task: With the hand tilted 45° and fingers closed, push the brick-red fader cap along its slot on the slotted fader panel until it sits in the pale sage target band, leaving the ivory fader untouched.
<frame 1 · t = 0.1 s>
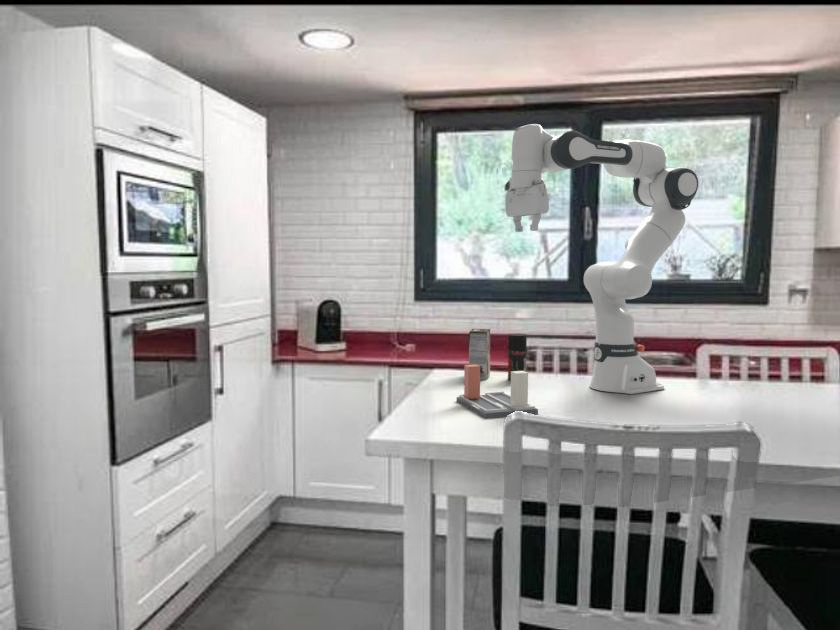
hand: (526, 231, 184), 48 cm above the table, tool pointing down, fingers open, 8 cm apart
slotted fader panel: (495, 407, 174), on the table
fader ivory: (519, 388, 169), point 6 cm above the table, slide at 0.0 cm
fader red: (472, 381, 179), point 6 cm above the table, slide at 0.0 cm
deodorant: (516, 380, 213), on the table
coffee box: (479, 377, 217), on the table
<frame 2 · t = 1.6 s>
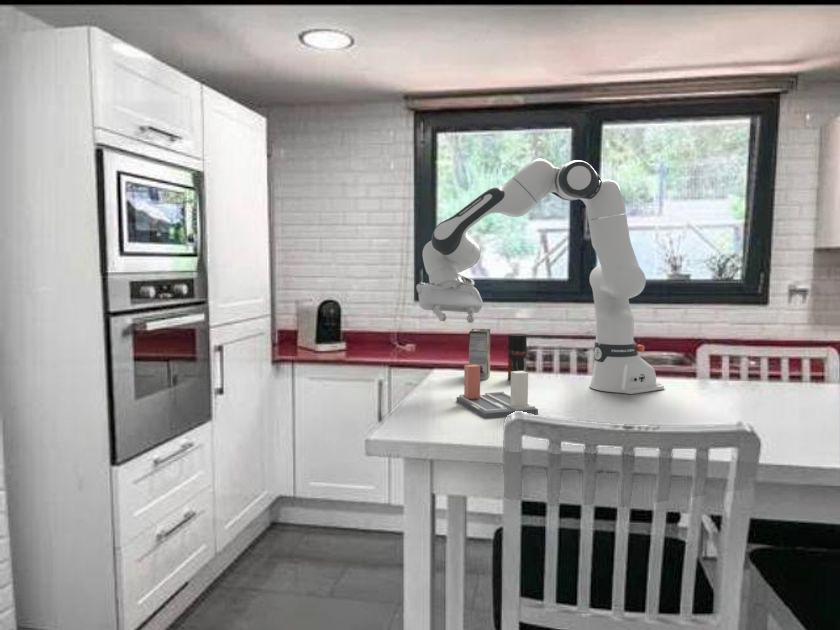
hand: (457, 320, 188), 22 cm above the table, tool tilted 45°, fingers open, 8 cm apart
nothing on the table moved.
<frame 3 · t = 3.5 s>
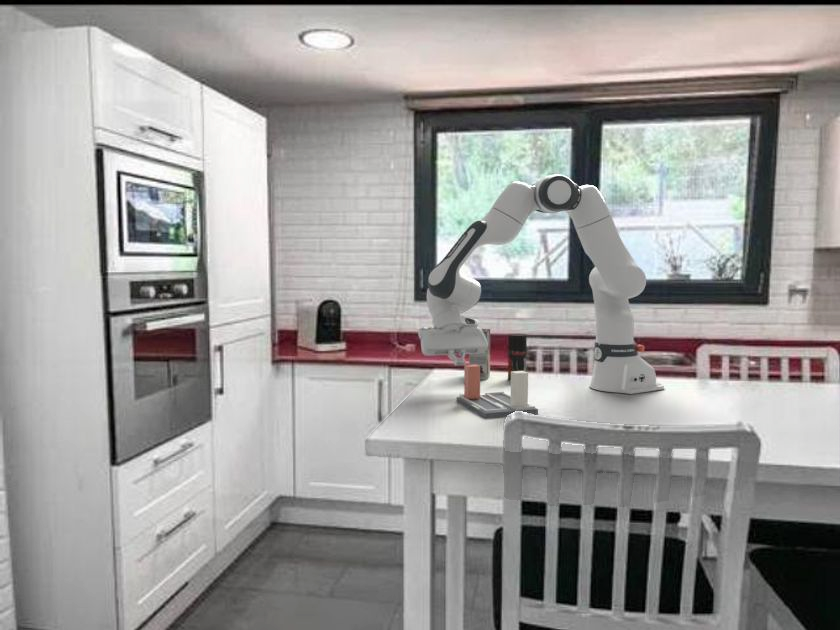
hand: (460, 364, 187), 9 cm above the table, tool tilted 45°, fingers closed
nothing on the table moved.
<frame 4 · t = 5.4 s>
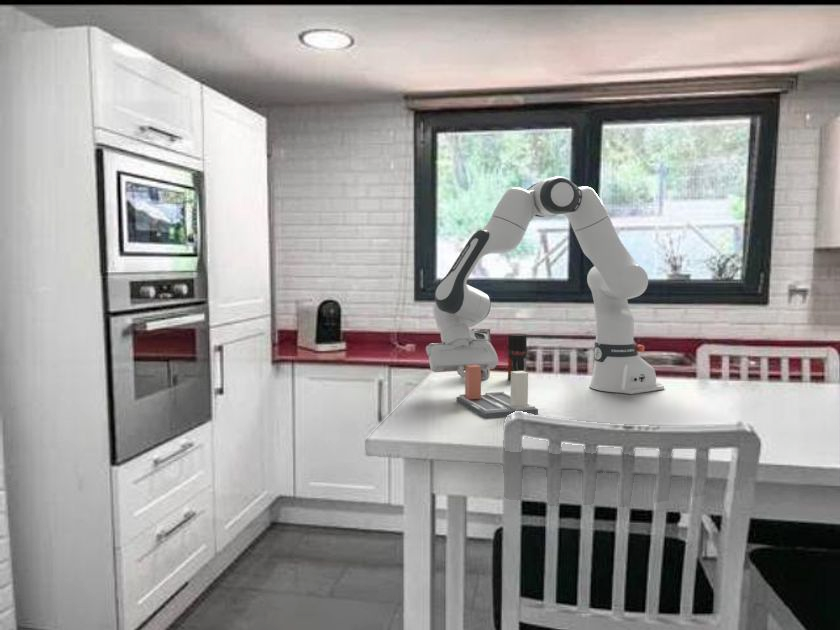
hand: (470, 381, 180), 6 cm above the table, tool tilted 45°, fingers closed, pressing on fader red
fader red: (473, 382, 178), point 6 cm above the table, slide at 0.7 cm, touching gripper
everything else where it was.
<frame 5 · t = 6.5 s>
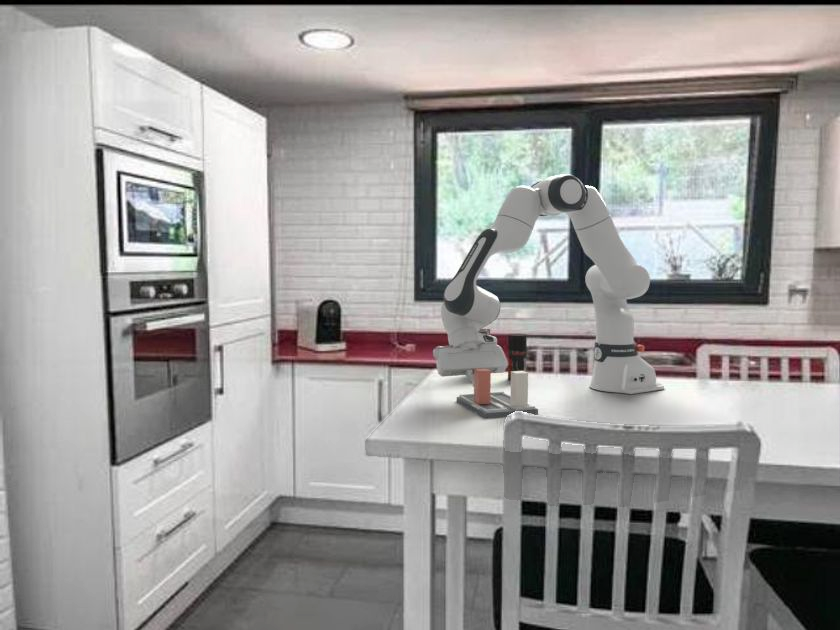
hand: (479, 385, 174), 6 cm above the table, tool tilted 45°, fingers closed, pressing on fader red
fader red: (482, 386, 172), point 6 cm above the table, slide at 7.0 cm, touching gripper
everything else where it was.
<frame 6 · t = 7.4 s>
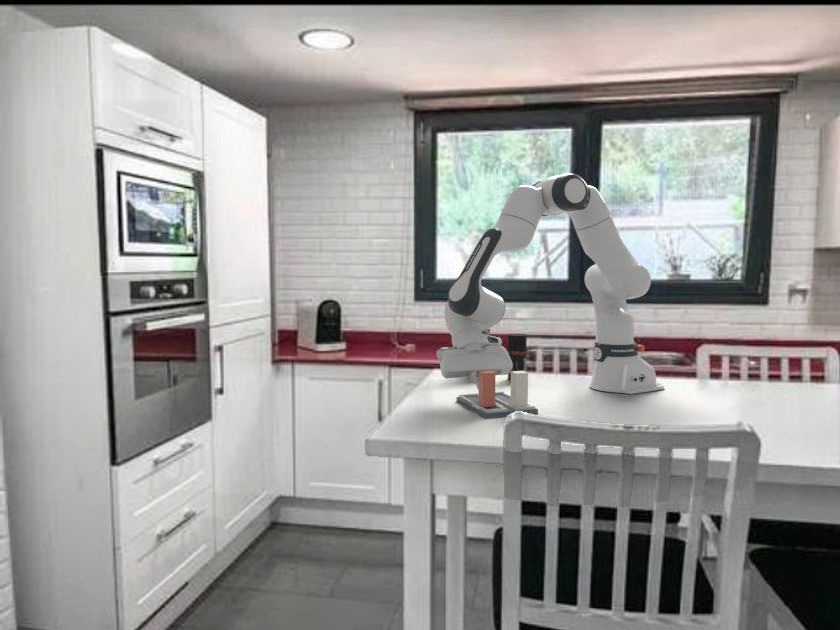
hand: (483, 387, 172), 6 cm above the table, tool tilted 45°, fingers closed, pressing on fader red
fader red: (486, 388, 170), point 6 cm above the table, slide at 10.1 cm, touching gripper
everything else where it was.
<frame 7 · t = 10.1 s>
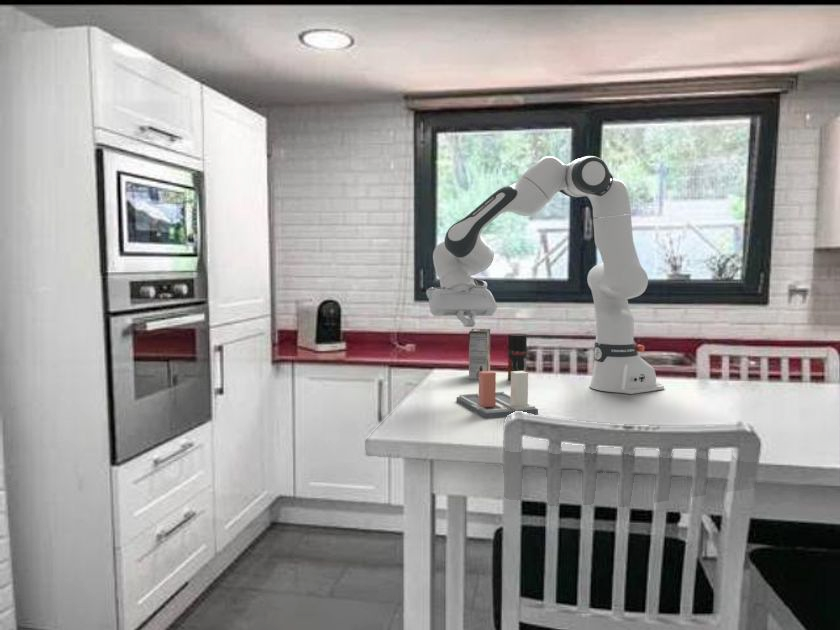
hand: (469, 325, 182), 21 cm above the table, tool tilted 45°, fingers closed
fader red: (487, 388, 169), point 6 cm above the table, slide at 10.2 cm
everything else where it was.
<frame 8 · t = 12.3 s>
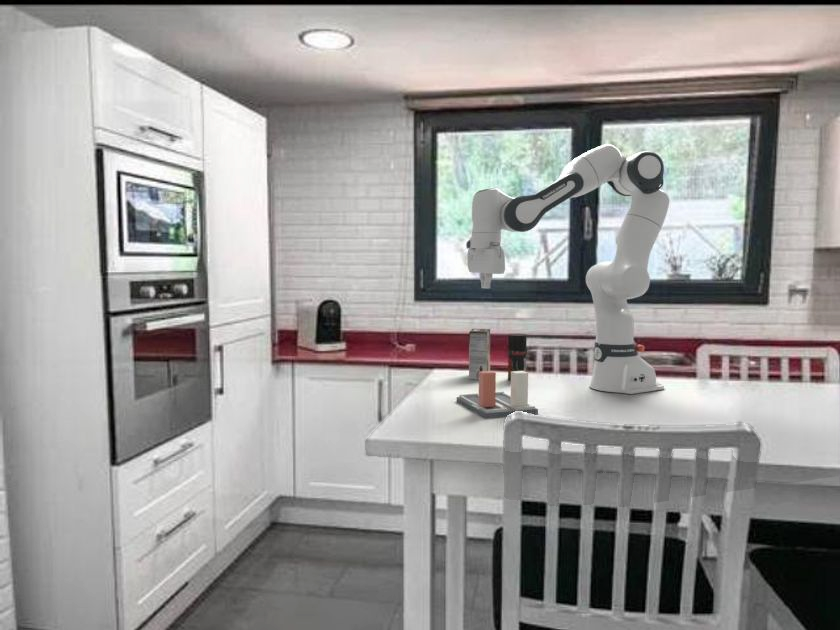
hand: (485, 288, 195), 31 cm above the table, tool pointing down, fingers closed
nothing on the table moved.
at the end: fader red slide at 10.2 cm; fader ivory slide at 0.0 cm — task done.
